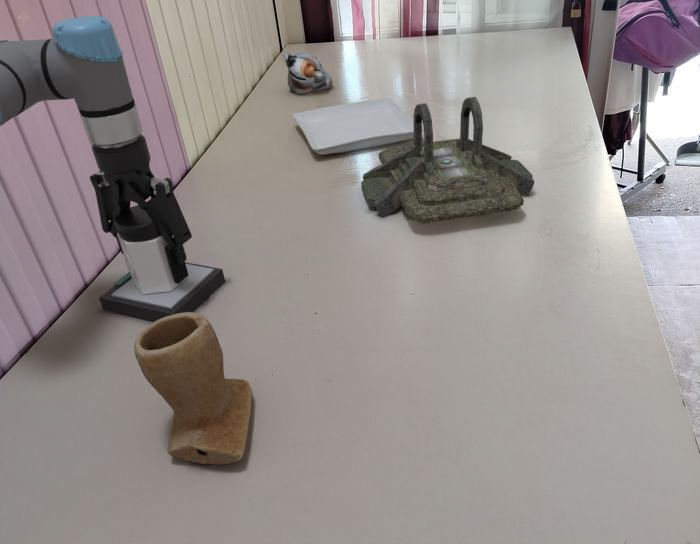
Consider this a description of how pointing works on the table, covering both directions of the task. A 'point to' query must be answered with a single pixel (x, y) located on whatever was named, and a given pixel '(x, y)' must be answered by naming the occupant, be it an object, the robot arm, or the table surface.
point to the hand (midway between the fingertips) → (159, 274)
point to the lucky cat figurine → (306, 73)
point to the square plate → (355, 126)
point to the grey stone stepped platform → (446, 174)
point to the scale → (163, 295)
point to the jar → (144, 251)
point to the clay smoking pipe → (195, 389)
